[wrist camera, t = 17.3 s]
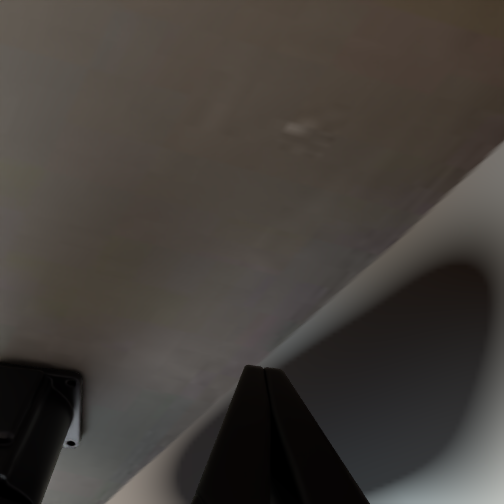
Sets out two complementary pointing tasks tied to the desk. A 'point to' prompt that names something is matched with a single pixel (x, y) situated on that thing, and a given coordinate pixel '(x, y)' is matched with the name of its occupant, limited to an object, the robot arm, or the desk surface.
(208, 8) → the desk surface
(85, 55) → the desk surface
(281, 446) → the robot arm
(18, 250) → the desk surface
